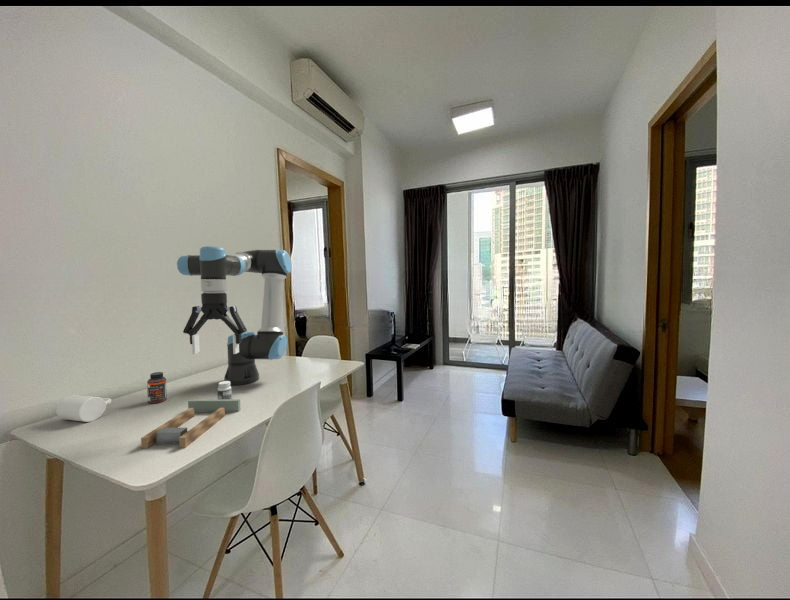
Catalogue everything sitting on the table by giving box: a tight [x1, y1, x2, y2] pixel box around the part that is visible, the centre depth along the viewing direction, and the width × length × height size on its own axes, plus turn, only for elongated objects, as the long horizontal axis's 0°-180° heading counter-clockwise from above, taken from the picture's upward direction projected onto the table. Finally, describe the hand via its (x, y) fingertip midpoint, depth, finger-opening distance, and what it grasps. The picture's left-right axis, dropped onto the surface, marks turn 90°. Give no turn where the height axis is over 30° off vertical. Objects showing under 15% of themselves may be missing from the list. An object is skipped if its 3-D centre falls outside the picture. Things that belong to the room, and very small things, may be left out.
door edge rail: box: [187, 398, 241, 413], centre depth 111 cm, size 2×18×4 cm, turn 92°
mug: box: [55, 394, 113, 423], centre depth 106 cm, size 12×10×8 cm
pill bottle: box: [217, 380, 233, 399], centre depth 118 cm, size 5×5×8 cm
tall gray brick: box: [155, 427, 188, 445], centre depth 89 cm, size 3×7×4 cm, turn 92°
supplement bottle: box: [146, 371, 168, 405], centre depth 120 cm, size 6×6×11 cm
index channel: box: [140, 408, 226, 449], centre depth 96 cm, size 21×12×3 cm, turn 2°
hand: (216, 353), depth 105 cm, fingers open, 13 cm apart
